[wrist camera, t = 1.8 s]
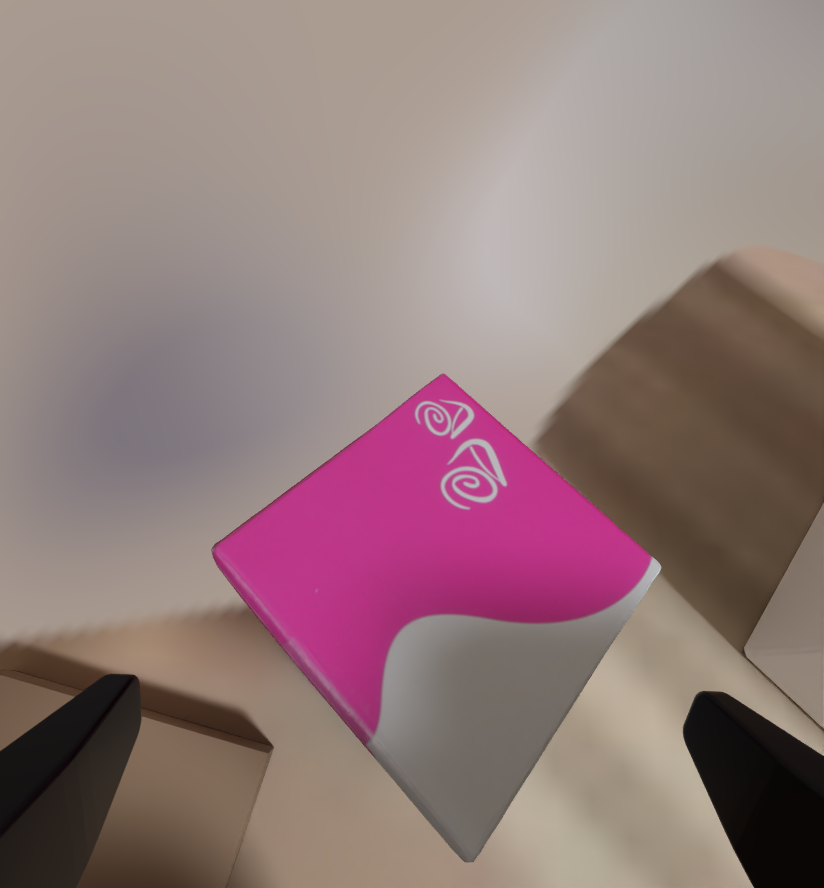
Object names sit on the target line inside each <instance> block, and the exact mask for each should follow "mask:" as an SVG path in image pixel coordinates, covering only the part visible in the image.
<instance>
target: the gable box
mask: <svg viewBox="0 0 824 888" xmlns="http://www.w3.org/2000/svg"><path fill="white" fill-rule="evenodd" d="M744 651H745V655H746V657H747V658H748V659H749V660H750V661H752V662H753V663H754V664H755V665H756V666H757V667H758V668H759V669H760V670H761V671H762V672H763V673H764V674H765V675H767V676H768V677H769V678H770V679H771V680H772V681H773V682H774V683H775V684H776V685H777V686H778V687H779V688H780V689H782V690H783V691H784V692H785V693H786V694H787V695H788V696H789V697H790V698H791V699H792V700H793V701H794V702H795V703H797V704H798V705H799V706H800V707H801V708H802V709H803V710H804V711H805V712H806V713H807V714H808V715H809V716H810V717H812V718H813V719H814V720H815V721H816V722H817V723H818V724H819V725H820V726H821V727H822V728H823V729H824V503H823V505H822V507H821V509H820V510H819V512H818V514H817V516H816V518H815V519H814V521H813V523H812V525H811V527H810V529H809V530H808V532H807V534H806V536H805V538H804V539H803V541H802V543H801V545H800V547H799V549H798V550H797V552H796V554H795V556H794V558H793V560H792V561H791V563H790V565H789V567H788V569H787V570H786V572H785V574H784V576H783V578H782V580H781V581H780V583H779V585H778V587H777V589H776V590H775V592H774V594H773V596H772V598H771V600H770V601H769V603H768V605H767V607H766V609H765V611H764V612H763V614H762V616H761V618H760V620H759V621H758V623H757V625H756V627H755V629H754V631H753V632H752V634H751V636H750V638H749V640H748V642H747V643H746V645H745V647H744Z"/></svg>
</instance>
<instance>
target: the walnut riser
mask: <svg viewBox="0 0 824 888" xmlns="http://www.w3.org/2000/svg"><path fill="white" fill-rule="evenodd" d="M81 692H82V690H79V689H75V688H72V687H68V686H65V685H62V684H58V683H55V682H51V681H48V680H45V679H41V678H38V677H34V676H31V675H28V674H24V673H21V672H17V671H14V670H0V751H1V750H2V749H4V748H5V747H6V746H8V745H9V744H10V743H12V742H13V741H15V740H16V739H17V738H19V737H20V736H21V735H23V734H24V733H26V732H27V731H28V730H30V729H31V728H33V727H34V726H35V725H37V724H38V723H39V722H41V721H42V720H44V719H45V718H46V717H48V716H49V715H51V714H52V713H53V712H55V711H56V710H57V709H59V708H60V707H62V706H63V705H64V704H66V703H67V702H68V701H70V700H71V699H73V698H74V697H75V696H77V695H78V694H80V693H81ZM141 713H142V720H141V726H140V730H139V734H138V737H137V739H136V742H135V745H134V747H133V750H132V752H131V755H130V757H129V760H128V763H127V765H126V768H125V770H124V773H123V776H122V778H121V781H120V783H119V786H118V789H117V791H116V794H115V796H114V799H113V802H112V804H111V807H110V809H109V812H108V815H107V817H106V820H105V822H104V825H103V827H102V830H101V833H100V835H99V838H98V840H97V843H96V845H95V848H94V850H93V853H92V855H91V858H90V860H89V862H88V864H87V867H86V869H85V871H84V873H83V875H82V877H81V880H80V882H79V884H78V886H77V888H226V887H227V884H228V881H229V878H230V875H231V872H232V869H233V866H234V863H235V860H236V857H237V854H238V851H239V848H240V845H241V842H242V840H243V837H244V834H245V831H246V828H247V825H248V822H249V819H250V816H251V813H252V810H253V807H254V804H255V801H256V798H257V795H258V792H259V790H260V787H261V784H262V781H263V778H264V775H265V772H266V769H267V766H268V763H269V760H270V757H271V754H272V751H273V748H274V747H272V746H269V745H266V744H262V743H259V742H255V741H252V740H249V739H245V738H242V737H238V736H235V735H232V734H228V733H225V732H221V731H218V730H215V729H211V728H208V727H204V726H201V725H198V724H194V723H191V722H187V721H184V720H181V719H177V718H174V717H170V716H167V715H164V714H160V713H157V712H153V711H150V710H147V709H143V708H141Z"/></svg>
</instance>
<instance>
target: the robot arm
mask: <svg viewBox="0 0 824 888" xmlns="http://www.w3.org/2000/svg"><path fill="white" fill-rule="evenodd" d="M141 720H142V713H141V698H140V683H139V679H138V677H137V676H135V675H130V674H109V675H106V676H104V677H102V678H100V679H99V680H97V681H96V682H95V683H93V684H92V685H91V686H89V687H88V688H86V689H85V690H84V691H82V692H81V693H80V694H78V695H77V696H75V697H74V698H73V699H71V700H70V701H68V702H67V703H66V704H64V705H63V706H62V707H60V708H59V709H57V710H56V711H55V712H53V713H52V714H51V715H49V716H48V717H46V718H45V719H44V720H42V721H41V722H39V723H38V724H37V725H35V726H34V727H33V728H31V729H30V730H28V731H27V732H26V733H24V734H23V735H21V736H20V737H19V738H17V739H16V740H15V741H13V742H12V743H10V744H9V745H8V746H6V747H5V748H4V749H2V750H1V751H0V888H77V886H78V884H79V882H80V880H81V877H82V875H83V873H84V871H85V869H86V867H87V864H88V862H89V860H90V858H91V855H92V853H93V850H94V848H95V845H96V843H97V840H98V838H99V835H100V833H101V830H102V827H103V825H104V822H105V820H106V817H107V815H108V812H109V809H110V807H111V804H112V802H113V799H114V796H115V794H116V791H117V789H118V786H119V783H120V781H121V778H122V776H123V773H124V770H125V768H126V765H127V763H128V760H129V757H130V755H131V752H132V750H133V747H134V745H135V742H136V739H137V737H138V734H139V730H140V726H141ZM683 737H684V741H685V744H686V746H687V748H688V750H689V753H690V755H691V757H692V759H693V762H694V764H695V766H696V768H697V770H698V773H699V775H700V777H701V779H702V781H703V784H704V786H705V788H706V790H707V793H708V795H709V797H710V799H711V801H712V804H713V806H714V808H715V810H716V813H717V815H718V817H719V819H720V821H721V824H722V826H723V828H724V830H725V832H726V835H727V837H728V839H729V841H730V843H731V845H732V847H733V849H734V851H735V853H736V855H737V857H738V859H739V861H740V863H741V865H742V867H743V869H744V870H745V872H746V874H747V876H748V878H749V880H750V882H751V883H752V885H753V887H754V888H824V756H823V755H821V754H820V753H818V752H817V751H815V750H813V749H812V748H810V747H809V746H807V745H806V744H804V743H803V742H801V741H800V740H798V739H796V738H795V737H793V736H792V735H790V734H789V733H787V732H786V731H784V730H783V729H781V728H779V727H778V726H776V725H775V724H773V723H772V722H770V721H769V720H767V719H765V718H764V717H762V716H761V715H759V714H758V713H756V712H755V711H753V710H752V709H750V708H748V707H747V706H745V705H744V704H742V703H741V702H739V701H738V700H736V699H735V698H733V697H731V696H730V695H728V694H726V693H724V692H716V691H701V692H699V693H698V694H697V695H696V696H695V698H694V700H693V703H692V705H691V708H690V710H689V713H688V715H687V718H686V720H685V723H684V726H683Z"/></svg>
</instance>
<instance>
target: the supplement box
mask: <svg viewBox="0 0 824 888" xmlns="http://www.w3.org/2000/svg"><path fill="white" fill-rule="evenodd" d="M211 551H212V555H213V558H214V560H215V562H216V564H217V566H218V568H219V569H220V570H221V571H222V573H223V574H224V575H225V577H226V578H227V580H228V581H229V582H230V583H231V585H232V586H233V587H234V589H235V590H236V591H237V593H238V594H239V595H240V597H241V598H242V599H243V600H244V602H245V603H246V604H247V605H248V606H249V608H250V609H251V610H252V611H253V613H254V614H255V615H256V616H257V617H258V619H259V620H260V621H261V622H262V624H263V625H264V626H265V627H266V629H267V630H268V631H269V632H270V633H271V635H272V636H273V637H274V638H275V640H276V641H277V642H278V643H279V644H280V646H281V647H282V648H283V649H284V651H285V652H286V653H287V654H288V655H289V657H290V658H291V659H292V660H293V661H294V663H295V664H296V665H297V666H298V667H299V669H300V670H301V671H302V672H303V673H304V675H305V676H306V677H307V678H308V680H309V681H310V682H311V683H312V684H313V686H314V687H315V688H316V689H317V690H318V691H319V693H320V694H321V695H322V696H323V697H324V699H325V700H326V701H327V702H328V703H329V705H330V706H331V707H332V708H333V709H334V710H335V712H336V713H337V714H338V715H339V716H340V718H341V719H342V720H343V721H344V722H345V724H346V725H347V726H348V727H349V728H350V729H351V731H352V732H353V733H354V734H355V735H356V737H357V738H358V739H359V740H360V741H361V742H362V744H363V745H364V746H365V747H366V748H367V749H368V751H369V752H370V753H371V754H372V755H373V756H374V758H375V759H376V760H377V761H378V762H379V763H380V765H381V766H382V767H383V768H384V769H385V771H386V772H387V773H388V774H389V775H390V776H391V778H392V779H393V780H394V781H395V782H396V783H397V785H398V786H399V787H400V788H401V789H402V791H403V792H404V793H405V794H406V795H407V796H408V798H409V799H410V800H411V801H412V802H413V804H414V805H415V806H416V807H417V808H418V810H419V811H420V812H421V813H422V814H423V816H424V817H425V818H426V819H427V820H428V821H429V823H430V824H431V825H432V826H433V827H434V828H435V830H436V831H437V832H438V833H439V834H440V835H441V837H442V838H443V839H444V840H445V841H446V842H447V844H448V845H449V846H450V847H451V848H452V850H453V851H454V852H455V853H456V854H457V855H458V856H459V857H460V858H461V859H462V860H463V861H464V862H474V860H475V859H476V858H477V856H478V855H479V853H480V852H481V850H482V849H483V847H484V845H485V843H486V842H487V840H488V839H489V837H490V836H491V834H492V833H493V831H494V830H495V828H496V827H497V825H498V824H499V822H500V820H501V819H502V817H503V815H504V814H505V812H506V810H507V809H508V807H509V805H510V804H511V802H512V801H513V799H514V797H515V796H516V794H517V793H518V791H519V790H520V788H521V787H522V785H523V783H524V782H525V780H526V779H527V777H528V776H529V774H530V773H531V771H532V769H533V768H534V766H535V764H536V763H537V761H538V760H539V758H540V756H541V755H542V753H543V752H544V750H545V748H546V747H547V745H548V744H549V742H550V740H551V739H552V737H553V735H554V734H555V732H556V731H557V729H558V728H559V726H560V725H561V723H562V721H563V720H564V718H565V717H566V715H567V714H568V712H569V711H570V709H571V707H572V706H573V704H574V703H575V701H576V699H577V698H578V696H579V695H580V693H581V692H582V690H583V688H584V687H585V685H586V684H587V682H588V680H589V679H590V677H591V676H592V674H593V672H594V671H595V669H596V668H597V666H598V664H599V663H600V661H601V659H602V658H603V656H604V655H605V653H606V652H607V650H608V649H609V647H610V646H611V644H612V643H613V641H614V640H615V638H616V637H617V635H618V634H619V632H620V631H621V629H622V628H623V626H624V625H625V623H626V622H627V620H628V619H629V617H630V616H631V614H632V613H633V611H634V609H635V608H636V606H637V605H638V603H639V602H640V600H641V599H642V598H643V596H644V595H645V593H646V592H647V590H648V588H649V586H650V585H651V583H652V582H653V580H654V579H655V578H656V576H657V575H658V574H659V572H660V570H661V565H660V563H659V562H658V561H657V560H656V559H655V558H653V557H652V556H651V555H649V554H648V553H647V552H646V551H645V550H644V549H643V548H642V547H641V546H639V545H638V544H637V543H636V542H635V541H634V540H633V539H632V538H631V537H629V536H628V535H627V534H626V533H625V532H623V531H622V530H621V529H620V528H619V527H618V526H617V525H616V524H615V523H613V522H612V521H611V520H610V519H609V518H608V517H607V516H606V515H604V514H603V513H602V512H601V511H600V510H599V509H598V508H596V507H595V506H594V505H593V504H592V503H591V502H590V501H588V500H587V499H586V498H585V497H584V496H583V495H582V494H580V493H579V492H578V491H577V490H576V489H575V488H574V487H572V486H571V485H570V484H569V483H568V482H567V481H566V480H564V479H563V478H562V477H561V476H560V475H559V474H558V473H557V472H555V471H554V470H553V469H552V468H551V467H550V466H549V465H547V464H546V463H545V462H544V461H543V460H542V459H541V458H539V457H538V456H537V455H536V454H535V453H534V452H532V451H531V450H530V449H529V448H528V447H527V446H526V445H524V444H523V443H522V442H521V441H520V440H519V439H518V438H517V437H516V436H514V435H513V434H512V433H511V432H510V431H509V430H508V429H506V428H505V427H504V426H503V425H502V424H501V423H500V422H498V421H497V420H496V419H495V418H494V417H493V416H492V415H491V414H490V413H488V412H487V411H486V410H485V409H484V408H483V407H482V406H481V405H479V404H478V403H477V402H476V401H475V400H474V399H473V398H471V397H470V396H469V395H468V394H467V393H466V392H465V391H464V390H462V389H461V388H460V387H459V386H458V385H457V384H456V383H455V382H453V381H452V380H451V379H450V378H448V377H447V376H446V375H445V374H441V375H440V376H438V377H437V378H435V379H434V380H433V381H431V382H430V383H429V384H427V385H426V386H425V387H424V388H422V389H421V390H419V391H418V392H417V393H416V394H414V395H413V396H412V397H410V398H409V399H408V400H407V401H406V402H404V403H403V404H402V405H401V406H399V407H398V408H397V409H395V410H394V411H393V412H392V413H390V414H389V415H388V416H387V417H385V418H384V419H383V420H382V421H381V422H379V423H378V424H377V425H375V426H374V427H373V428H371V429H370V430H369V431H367V432H366V433H365V434H363V435H362V436H360V437H359V438H358V439H356V440H355V441H353V442H352V443H351V444H349V445H348V446H347V447H345V448H344V449H343V450H341V451H340V452H339V453H337V454H336V455H335V456H334V457H332V458H331V459H330V460H328V461H327V462H325V463H324V464H323V465H321V466H320V467H318V468H317V469H316V470H314V471H313V472H312V473H310V474H309V475H308V476H306V477H305V478H304V479H302V480H301V481H300V482H298V483H297V484H296V485H294V486H293V487H291V488H290V489H289V490H288V491H286V492H285V493H283V494H282V495H281V496H280V497H278V498H277V499H276V500H274V501H273V502H272V503H270V504H269V505H268V506H266V507H265V508H264V509H262V510H261V511H259V512H258V513H257V514H255V515H254V516H252V517H251V518H250V519H248V520H247V521H246V522H244V523H243V524H242V525H241V526H239V527H238V528H236V529H235V530H234V531H232V532H231V533H230V534H229V535H227V536H226V537H225V538H224V539H222V540H220V541H219V542H217V543H216V544H215V545H214V546H213V547H212V550H211Z"/></svg>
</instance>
